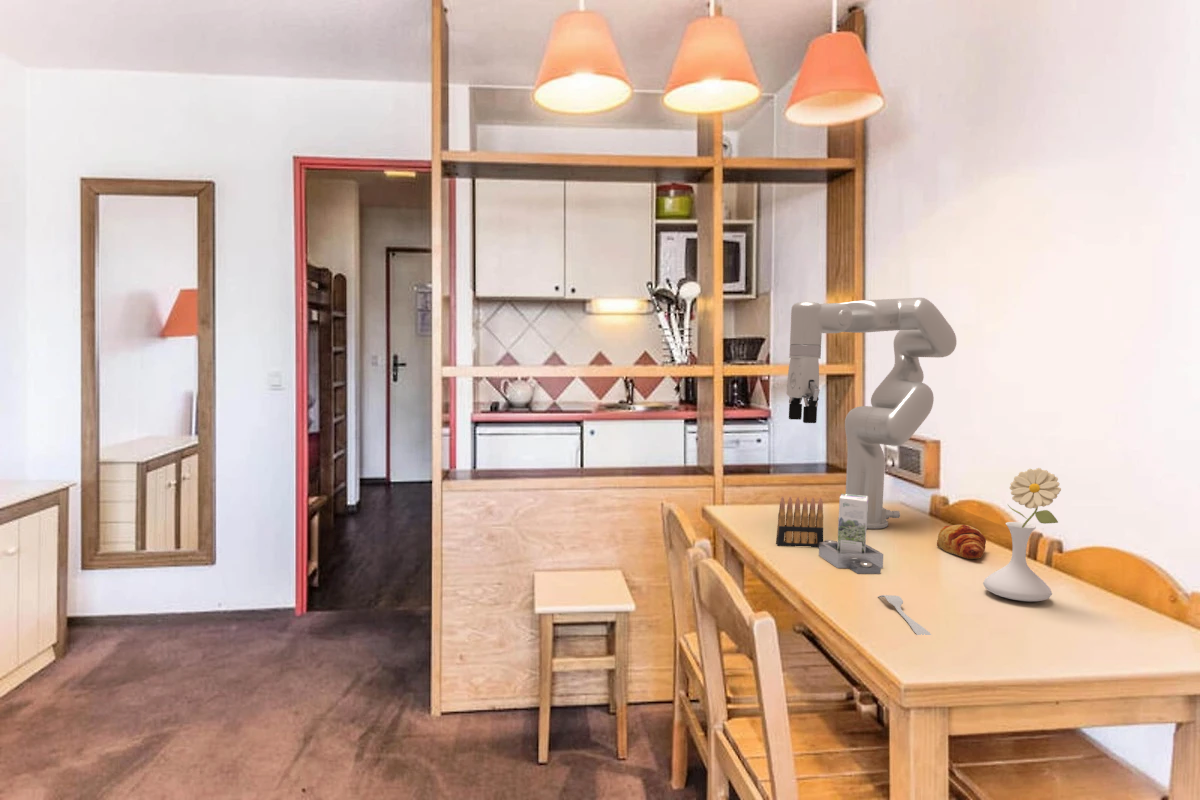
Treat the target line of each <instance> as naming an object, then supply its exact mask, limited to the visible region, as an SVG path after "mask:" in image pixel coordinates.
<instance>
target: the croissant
mask: <svg viewBox="0 0 1200 800" xmlns="http://www.w3.org/2000/svg"><path fill="white" fill-rule="evenodd" d="M986 543H987V539H986V537H985V536H984V534H983V533H982V532H981V531H980V530H979V529H978V528H975V527H973V526H970V525H969V524H954V525H953V524H952V525H945V526H943V527H942V528H941V529H940V531H938V535H937V540H936V547H938V548H940V549H941V550H943V552H945V553H948V554H949V553H950V554H952V555H955V556H956V555H957V556H958V557H959V558H963V559H968V560H972V559H973V560H974V558H976V559H980V558H982V557H983V556H984V553H985V551H986Z"/></svg>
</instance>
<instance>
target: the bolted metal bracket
mask: <svg viewBox="0 0 1200 800" xmlns="http://www.w3.org/2000/svg"><path fill="white" fill-rule="evenodd" d="M837 543H838V540H832V539H825V540H823V542H817V547H816V548H818V556H819V557H820V558H822V559H823V560H825V561H826V562H828V563H829V564H831V565H832V566H834V567H835V568H836V569H850V571H852V572H854V573H855V574H858V575H861V574H865V575H866V574H868V575H870V574H871V575H872V574H873V575H874V574H881V573H882V571H881V569H883V568H884V553H882V552H880V551H879V550H877V549H875V548H873V547H872V546H870V545H868V544H866V549H865V553H840V552H838V551H837Z"/></svg>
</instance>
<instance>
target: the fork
mask: <svg viewBox="0 0 1200 800" xmlns="http://www.w3.org/2000/svg"><path fill="white" fill-rule="evenodd" d="M881 597H883V598H884V597H885V599H886V601H887V602H888V603H889V604H890V605H892V606H894V608H895V609H896V611H897V613H899V615H900V616H901V617H902V618H903V619H904V620H905V621H906V622H907V623H908V625H909V627H910V628H911V629H912V631H913V633H916V634H917V635H921V634H922V635H924V634H925V635H932V634H931V632H930V631H928V630H927V629H926V628H925V627H923V626H922V625H921V624H919V623H918V622H916V621H915V620H914V619H912V618H911V617H909V616H908V615H907V614H906V613H905V612H904V611H903V610H902V605H903V604H904V600H903V598H902V597H901V596H899V595H890V594H889V595H887V594H886V595H884V594H883V595H878V596H877V598H881ZM916 634H915V635H916ZM917 635H916V636H917Z"/></svg>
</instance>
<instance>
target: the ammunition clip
mask: <svg viewBox="0 0 1200 800" xmlns="http://www.w3.org/2000/svg"><path fill="white" fill-rule="evenodd" d="M796 497H797V498H796V499H795V505H794V512H793V500H792V496H789V498H788V500H787V507H785V506H786V504H785V498H784V496H783V495H782V496H781V498H780V501H779V510H778V516H777V517H778V518H777V529H776V539H775V544H776V546H778V547H795V546H811V547H810V548H818V547H817V542H823V541H824V513H823V512H824V510H823V509H824V507H823V506H824V505H823V499H822V497H820V498H819V499H818V503H817V510H816V501H815V498H814V497H811V500H810V504H809V505H808V499H807V497H806V496H805V497H804V499H803V502H802V509H801V501H800V498H799V496H796ZM785 508H786V509H785ZM808 510H809V511H808Z"/></svg>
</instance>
